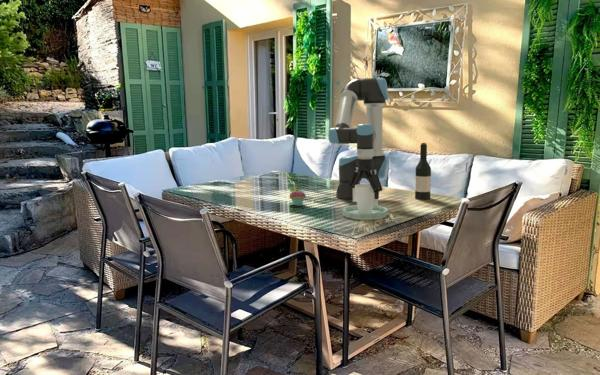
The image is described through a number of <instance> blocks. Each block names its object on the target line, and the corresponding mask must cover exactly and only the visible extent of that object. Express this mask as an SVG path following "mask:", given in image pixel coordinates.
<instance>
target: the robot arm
mask: <svg viewBox="0 0 600 375" xmlns="http://www.w3.org/2000/svg"><path fill="white" fill-rule="evenodd" d="M387 83H388V82H387V80H386V78H385V77H384V78H383V77H370V78H369V77H368V78H366V77H365V78H354V79H352V80H350V81H348V83H346V84H345V85H344V87H343V88H341V90H340V94H339V99H338V100H339V106H338V110H337V116H336V120H335V124H334V127H331V128H329V129H328V141H329V143H330V144H337V145H339V144H340V145H341V144H342V145H343V144H345V145H346V144H356V154H353V155H345V156H341V157H340V158H339V159H338V186H337V189H336V192H335V197H336V198H337V199H343V200H352V202H353V203H357V200H356V193H355V185H357V184H361V181H362V179H364V180H366V181H368V184H370V185H371V187H372V189H373V192H372V206H379V199H380V192H382V191H383V187H382V183H381V180H382V179H384V178H385V177H386V173H387V169H388V168H387V167H388V157H386V154H385V152H384V151H383V107H384V106H385V105H386V101H389V91H388V84H387ZM358 101H359V102H360V101H361V102H362V101H363V105H364V106H365V107H366V111H365V112H366V120H365V122H366V123H360V124H357V126H356V127H351V126H352V120H353V115H354V111H355V104H356V103H358ZM380 179H381V180H380Z"/></svg>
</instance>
